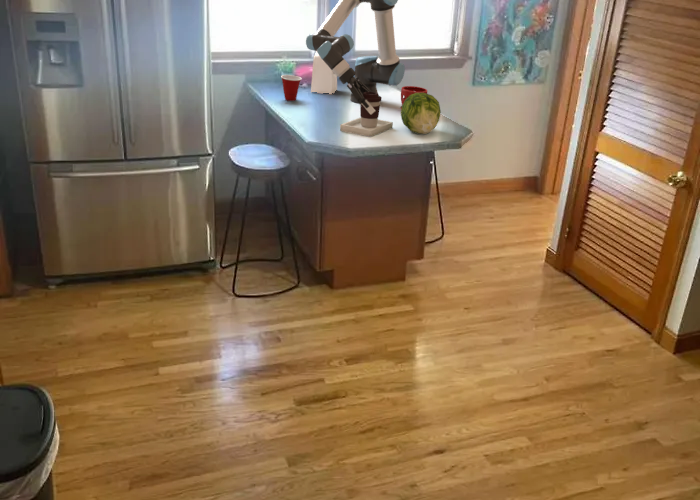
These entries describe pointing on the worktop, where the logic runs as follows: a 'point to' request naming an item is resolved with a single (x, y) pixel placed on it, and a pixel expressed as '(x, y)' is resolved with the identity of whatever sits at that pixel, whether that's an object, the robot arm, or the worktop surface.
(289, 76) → the plastic cup
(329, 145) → the worktop surface
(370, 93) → the coffee cup
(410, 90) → the plant pot
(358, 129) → the tray
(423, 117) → the lettuce
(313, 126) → the worktop surface
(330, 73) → the milk
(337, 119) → the worktop surface
